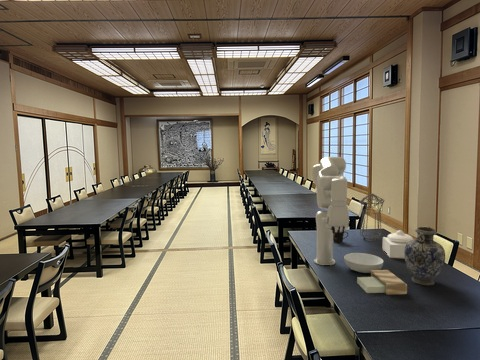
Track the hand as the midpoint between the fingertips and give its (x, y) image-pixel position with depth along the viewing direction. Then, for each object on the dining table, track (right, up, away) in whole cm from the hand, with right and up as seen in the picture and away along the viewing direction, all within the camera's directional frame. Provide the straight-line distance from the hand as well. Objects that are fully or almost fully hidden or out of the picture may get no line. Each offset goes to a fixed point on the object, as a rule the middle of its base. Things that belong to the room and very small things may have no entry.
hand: (337, 239), depth 171 cm
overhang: (+24, -24, 0) cm, 34 cm away
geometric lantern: (+48, -15, +82) cm, 96 cm away
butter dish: (+55, -19, +50) cm, 77 cm away
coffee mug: (+23, -16, +77) cm, 82 cm away
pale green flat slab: (+20, -24, 0) cm, 31 cm away
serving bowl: (+21, -22, +23) cm, 38 cm away
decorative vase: (+46, -23, +6) cm, 52 cm away
